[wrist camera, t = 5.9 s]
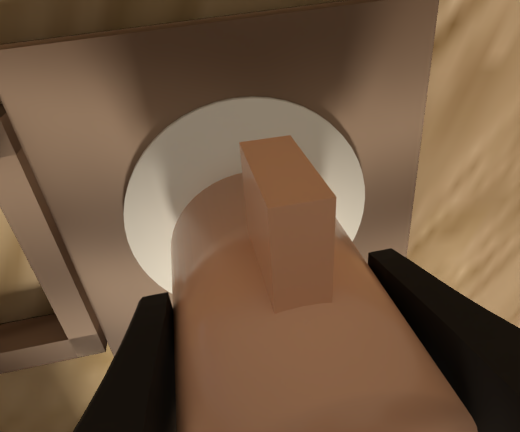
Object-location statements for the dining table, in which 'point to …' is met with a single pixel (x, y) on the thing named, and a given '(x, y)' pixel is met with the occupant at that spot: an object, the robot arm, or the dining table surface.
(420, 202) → the dining table surface
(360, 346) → the peach tabbed cylinder
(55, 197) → the caddy
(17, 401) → the dining table surface
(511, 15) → the dining table surface
